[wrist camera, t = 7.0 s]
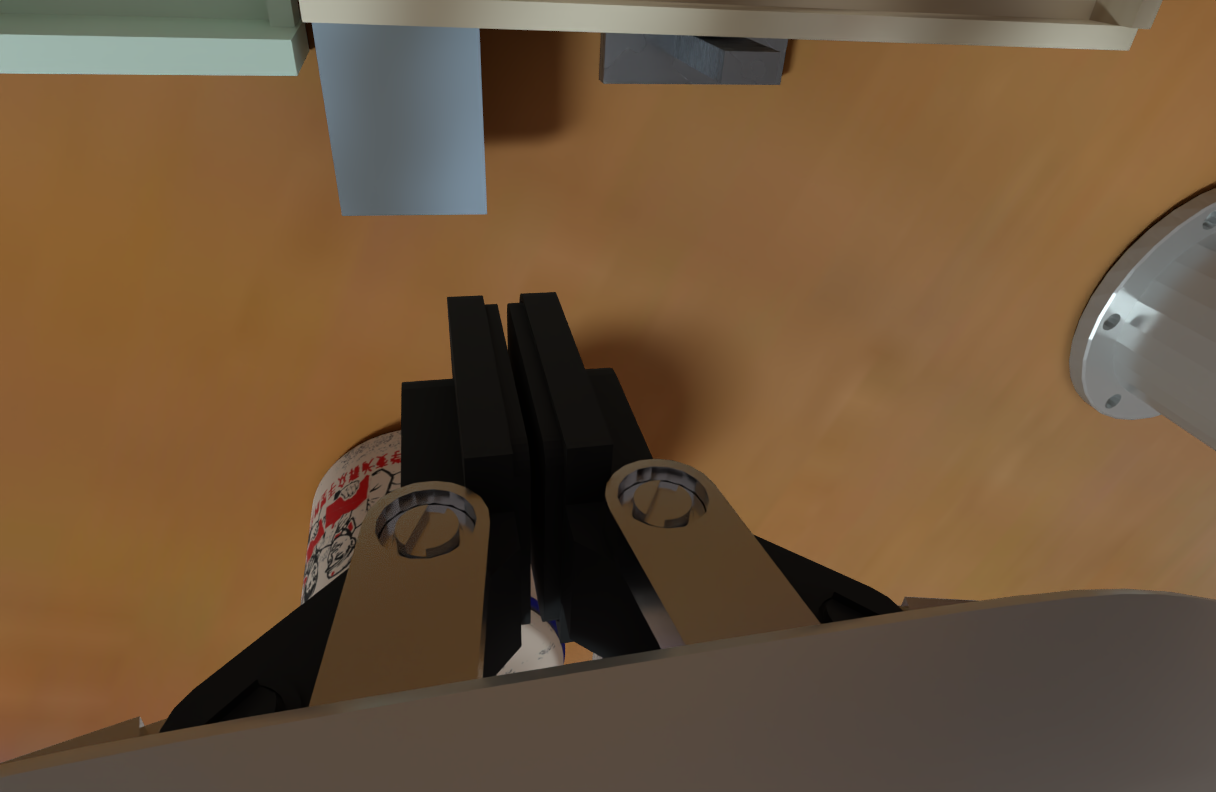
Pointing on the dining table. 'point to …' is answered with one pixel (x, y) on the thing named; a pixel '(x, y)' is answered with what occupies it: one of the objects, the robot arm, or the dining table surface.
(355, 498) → the teacup with lid
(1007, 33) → the lever
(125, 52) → the tray
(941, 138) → the dining table surface
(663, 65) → the fulcrum
